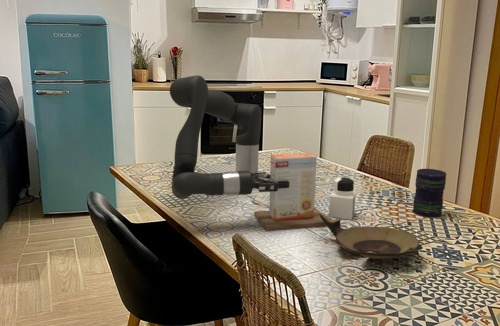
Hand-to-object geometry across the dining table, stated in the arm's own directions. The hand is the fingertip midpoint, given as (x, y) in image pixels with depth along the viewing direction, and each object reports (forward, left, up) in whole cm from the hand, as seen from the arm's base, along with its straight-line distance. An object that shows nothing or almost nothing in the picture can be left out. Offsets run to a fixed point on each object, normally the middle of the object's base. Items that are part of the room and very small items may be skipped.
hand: (284, 180), depth 162 cm
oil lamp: (+27, +17, -14) cm, 35 cm away
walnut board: (0, +3, -14) cm, 14 cm away
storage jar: (+2, +53, -14) cm, 55 cm away
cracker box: (0, +3, -13) cm, 13 cm away
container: (-2, +22, -14) cm, 26 cm away
